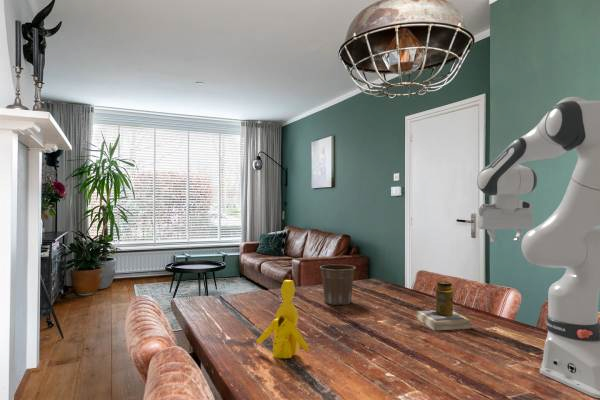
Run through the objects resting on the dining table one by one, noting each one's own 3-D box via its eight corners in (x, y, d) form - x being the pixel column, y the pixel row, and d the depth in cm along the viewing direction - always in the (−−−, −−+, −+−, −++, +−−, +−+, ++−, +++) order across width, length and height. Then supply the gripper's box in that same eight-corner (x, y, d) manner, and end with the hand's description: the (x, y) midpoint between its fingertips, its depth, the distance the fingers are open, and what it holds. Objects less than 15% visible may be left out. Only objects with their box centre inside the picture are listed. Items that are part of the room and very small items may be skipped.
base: (470, 328, 144) (470, 318, 144) (434, 330, 142) (434, 320, 142) (450, 317, 158) (450, 308, 158) (416, 318, 156) (416, 310, 156)
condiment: (457, 315, 149) (457, 282, 149) (443, 318, 144) (443, 285, 145) (441, 310, 155) (441, 279, 155) (426, 314, 151) (426, 282, 151)
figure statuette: (252, 354, 120) (252, 281, 120) (266, 346, 127) (266, 276, 127) (306, 365, 112) (306, 286, 112) (317, 355, 119) (317, 281, 119)
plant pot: (328, 296, 193) (327, 263, 193) (360, 300, 186) (360, 265, 186) (314, 304, 178) (314, 268, 178) (348, 308, 171) (348, 270, 171)
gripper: (484, 204, 142) (484, 243, 142) (536, 203, 145) (536, 242, 145) (474, 203, 148) (474, 241, 148) (523, 203, 151) (523, 240, 151)
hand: (505, 241), depth 146 cm, fingers open, 8 cm apart
